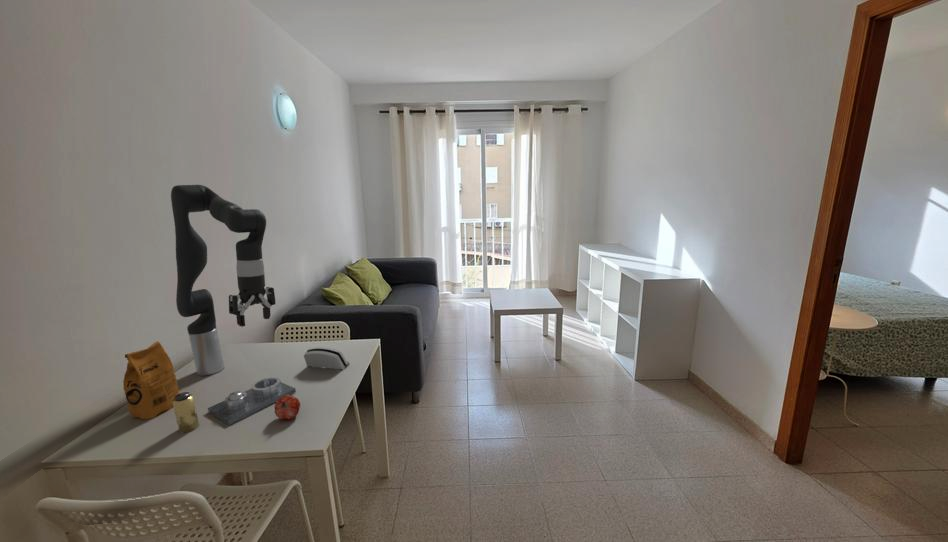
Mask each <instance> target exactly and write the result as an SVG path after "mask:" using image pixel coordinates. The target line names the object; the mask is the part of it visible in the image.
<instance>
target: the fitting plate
mask: <svg viewBox="0 0 948 542" xmlns="http://www.w3.org/2000/svg"><path fill="white" fill-rule="evenodd" d="M294 392H295V393H296V392H297V391H296V387H293V386H291V385H288V384H286V383H284V382H282V381H281V378H279V377H278V376H269V377H264V378H261V379H259V380H257V381H255V382H254V383H253V384H252V385H251V388H249V389H248V390H245V391H242V390H236V391H233V392H231V393H229V395H228V396H227V397H225V400H223V401H221V402H219V403H217V404H214V405H211V406H210V407H208V408H207V413H208V414H210V415H212V416H214V417H216V418H217V419H219V420H220V421H222V422H224V423H225V424H227V425H228V426H232V425H233V424H235V423H237V422H239V421H241V420H243V419H245V418H247V417H249V416H251V415H253V414H255V413H257V412H259V411H262V410H263V409H265V408H267V407H270V406H271V405H273V404H276V401H278V400H279V399H280V398H281V397H282V396H284V395H290V394H291V395H292V393H293V394H295V393H294Z"/></svg>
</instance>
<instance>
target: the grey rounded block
mask: <svg viewBox="0 0 948 542" xmlns="http://www.w3.org/2000/svg"><path fill="white" fill-rule="evenodd" d="M303 358H304V361H305V363H306V367H307V366H313V367H312V368H315V367H325V368H324V369H327V368H334V369H333V370H339V369H344V370H345V369H346V366H348V364H349V365H350V360H347V359H346V358H345V356H344V354H343V352H342V351H341V350H339V349H336V348H332V347H328V346H313V347H309V348H308V349H307V350H306V352H305V353H304V354H303Z"/></svg>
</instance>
